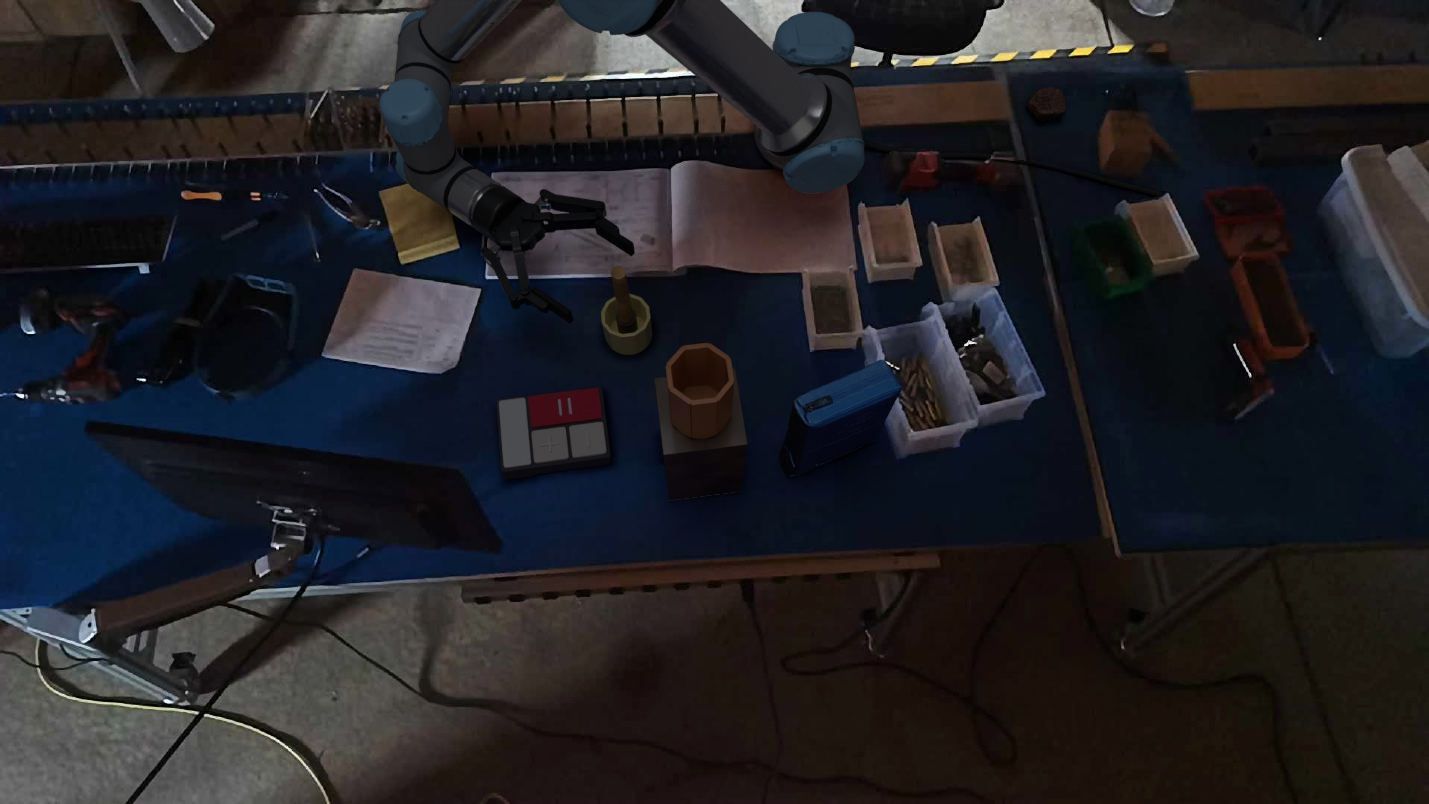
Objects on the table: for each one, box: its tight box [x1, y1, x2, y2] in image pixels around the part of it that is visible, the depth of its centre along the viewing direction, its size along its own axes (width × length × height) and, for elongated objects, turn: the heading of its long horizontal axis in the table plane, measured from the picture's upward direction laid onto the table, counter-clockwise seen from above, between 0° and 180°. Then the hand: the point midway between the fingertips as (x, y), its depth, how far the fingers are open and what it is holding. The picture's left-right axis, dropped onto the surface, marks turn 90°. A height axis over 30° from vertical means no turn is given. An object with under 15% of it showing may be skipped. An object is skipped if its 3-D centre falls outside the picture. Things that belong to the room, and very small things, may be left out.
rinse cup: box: [600, 293, 653, 356], centre depth 125 cm, size 7×7×6 cm
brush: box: [610, 266, 638, 334], centre depth 119 cm, size 3×3×17 cm
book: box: [778, 359, 903, 478], centre depth 112 cm, size 14×5×20 cm, turn 115°
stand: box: [653, 368, 749, 504], centre depth 110 cm, size 10×10×20 cm
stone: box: [1026, 86, 1067, 122], centre depth 144 cm, size 7×7×3 cm
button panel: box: [495, 385, 612, 480], centre depth 119 cm, size 11×4×15 cm
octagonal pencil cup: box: [664, 342, 735, 439], centre depth 96 cm, size 7×7×11 cm
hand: (602, 283), depth 118 cm, fingers open, 13 cm apart
